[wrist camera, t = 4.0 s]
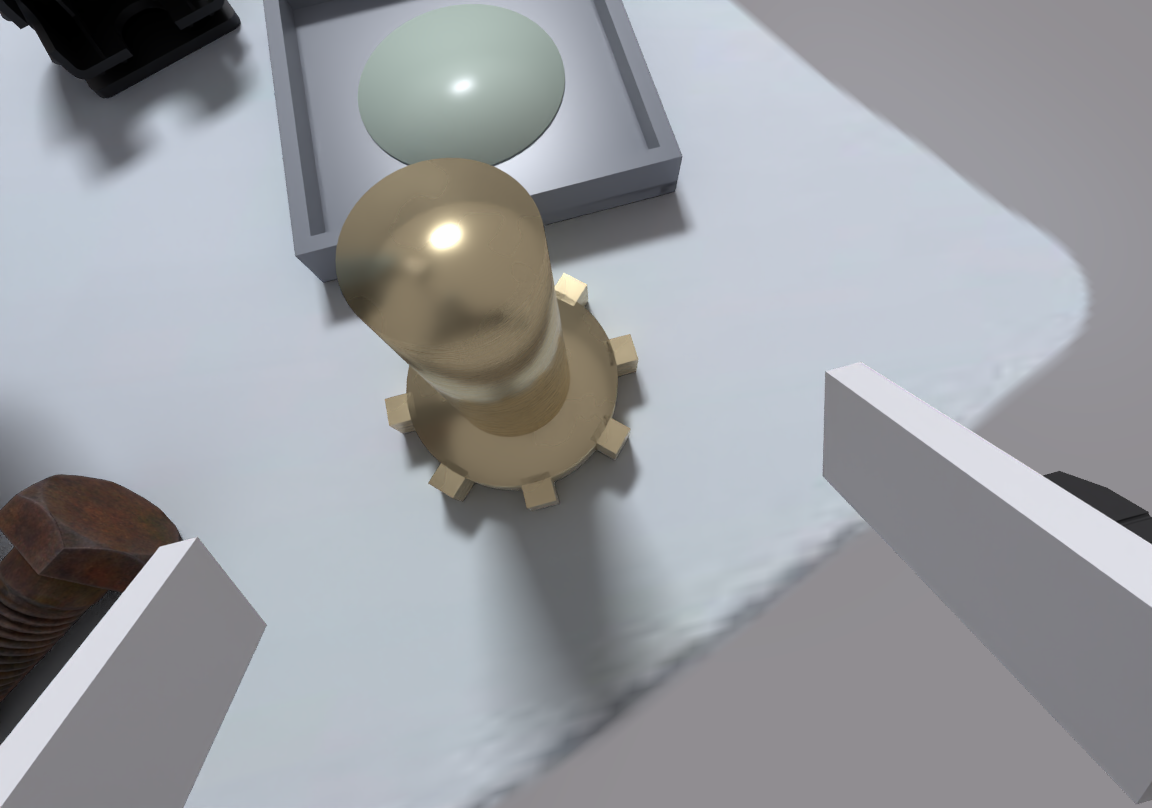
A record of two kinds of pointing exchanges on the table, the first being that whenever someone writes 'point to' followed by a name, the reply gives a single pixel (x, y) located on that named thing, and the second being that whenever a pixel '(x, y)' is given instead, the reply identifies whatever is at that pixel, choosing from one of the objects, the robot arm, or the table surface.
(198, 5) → the end cap
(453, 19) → the carrier tray
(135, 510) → the bolt
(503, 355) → the toothed flange peg
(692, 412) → the table surface
